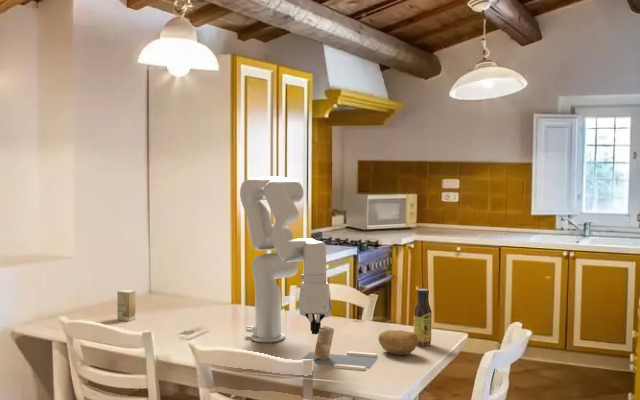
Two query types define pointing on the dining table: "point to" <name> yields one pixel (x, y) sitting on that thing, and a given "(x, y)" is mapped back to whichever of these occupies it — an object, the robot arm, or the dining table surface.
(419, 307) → the sauce bottle
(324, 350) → the oak block
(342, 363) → the plate
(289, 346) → the dining table surface
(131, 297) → the skincare box
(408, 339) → the potato
